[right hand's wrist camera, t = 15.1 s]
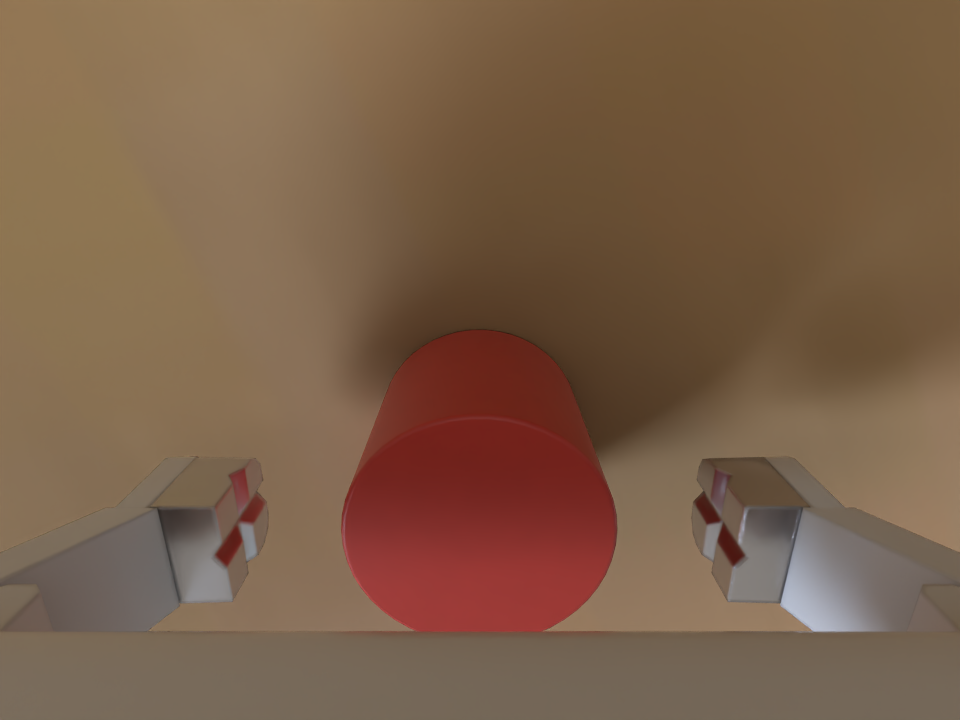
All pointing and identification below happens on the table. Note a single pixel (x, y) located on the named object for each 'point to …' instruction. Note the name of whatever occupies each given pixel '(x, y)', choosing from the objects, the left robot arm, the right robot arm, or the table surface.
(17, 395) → the table surface
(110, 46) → the table surface
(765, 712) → the right robot arm
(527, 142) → the table surface
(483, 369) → the can
